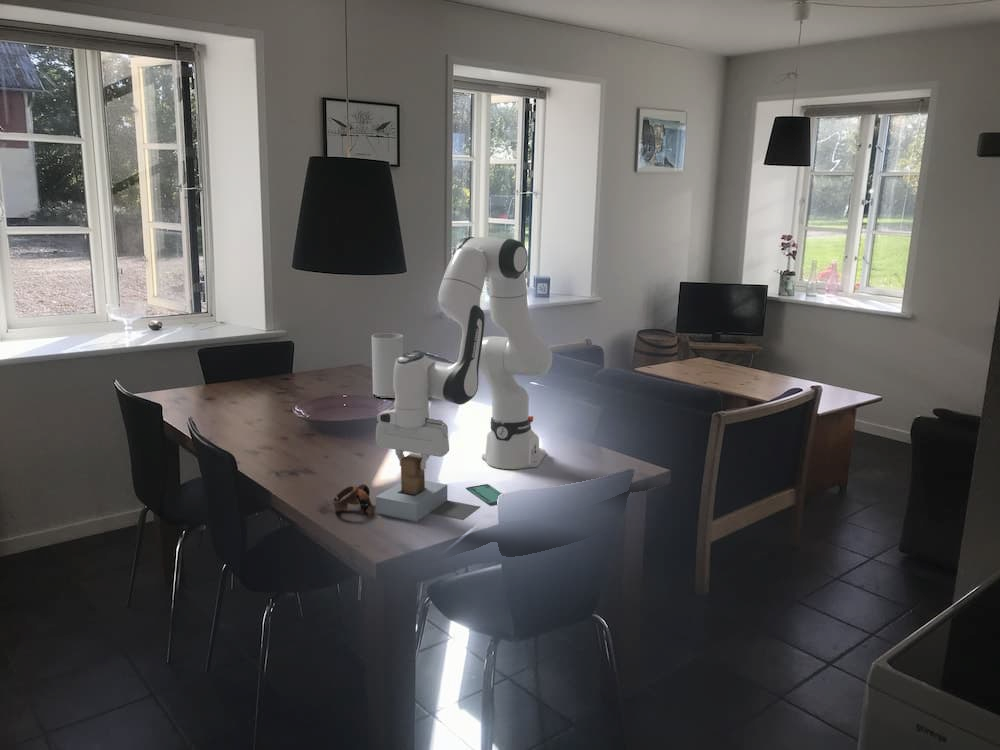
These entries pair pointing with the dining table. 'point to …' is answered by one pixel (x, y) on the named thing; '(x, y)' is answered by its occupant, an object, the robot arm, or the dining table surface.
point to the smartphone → (485, 493)
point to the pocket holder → (411, 501)
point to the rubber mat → (454, 510)
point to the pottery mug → (353, 498)
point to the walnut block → (412, 475)
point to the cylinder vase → (385, 362)
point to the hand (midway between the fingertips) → (412, 467)
